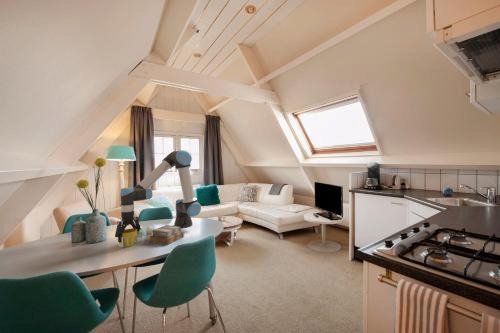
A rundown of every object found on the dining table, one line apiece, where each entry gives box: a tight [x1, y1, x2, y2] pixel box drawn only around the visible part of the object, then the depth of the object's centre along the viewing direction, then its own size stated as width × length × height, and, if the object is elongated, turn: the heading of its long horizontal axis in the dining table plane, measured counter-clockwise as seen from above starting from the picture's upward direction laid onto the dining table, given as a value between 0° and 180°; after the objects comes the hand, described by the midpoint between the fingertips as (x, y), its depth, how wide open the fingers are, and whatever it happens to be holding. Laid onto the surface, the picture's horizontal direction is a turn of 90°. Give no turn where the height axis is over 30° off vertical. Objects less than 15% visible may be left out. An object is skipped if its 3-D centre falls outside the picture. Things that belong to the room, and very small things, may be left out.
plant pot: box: [122, 227, 137, 248], centre depth 148 cm, size 10×10×10 cm
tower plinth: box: [149, 224, 185, 246], centre depth 157 cm, size 16×16×8 cm
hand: (128, 243), depth 148 cm, fingers closed on plant pot, 10 cm apart
